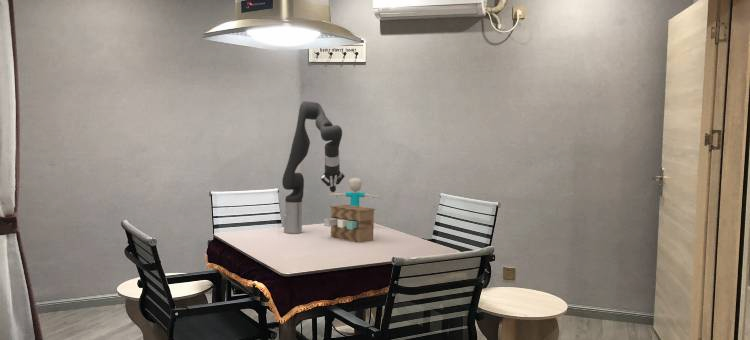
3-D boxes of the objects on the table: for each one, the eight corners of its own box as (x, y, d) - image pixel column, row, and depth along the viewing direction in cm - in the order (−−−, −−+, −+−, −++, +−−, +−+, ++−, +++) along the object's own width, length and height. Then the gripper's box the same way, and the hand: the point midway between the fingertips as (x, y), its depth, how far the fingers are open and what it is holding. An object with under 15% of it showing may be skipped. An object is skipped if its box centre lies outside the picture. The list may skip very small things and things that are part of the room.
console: (329, 237, 356) (330, 206, 354) (344, 234, 363) (344, 204, 362) (359, 243, 340) (360, 210, 339) (374, 240, 348) (374, 208, 346)
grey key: (324, 225, 349) (324, 218, 349) (336, 224, 355) (336, 217, 355) (329, 226, 346) (329, 219, 346) (341, 224, 353) (341, 217, 352)
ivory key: (337, 226, 346) (337, 219, 346) (349, 225, 353) (349, 218, 352) (342, 227, 344) (342, 220, 343) (354, 225, 350) (354, 218, 350)
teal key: (346, 228, 341) (346, 221, 341) (358, 226, 348) (358, 219, 347) (351, 229, 339) (352, 222, 338) (363, 227, 345) (364, 220, 345)
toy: (380, 227, 390) (381, 177, 387) (379, 230, 380) (380, 178, 378) (330, 225, 393) (330, 176, 390) (327, 228, 383) (328, 177, 381)
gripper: (342, 156, 338) (342, 185, 347) (317, 160, 334) (318, 190, 343) (346, 163, 332) (347, 192, 341) (321, 167, 328) (322, 197, 337)
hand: (332, 191), depth 342 cm, fingers closed
